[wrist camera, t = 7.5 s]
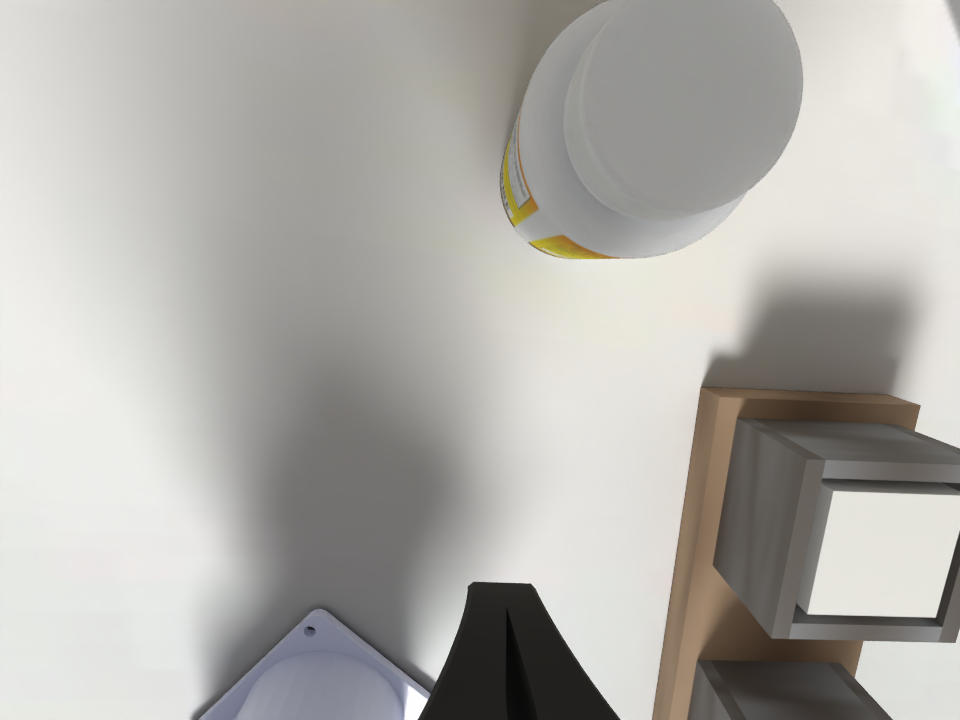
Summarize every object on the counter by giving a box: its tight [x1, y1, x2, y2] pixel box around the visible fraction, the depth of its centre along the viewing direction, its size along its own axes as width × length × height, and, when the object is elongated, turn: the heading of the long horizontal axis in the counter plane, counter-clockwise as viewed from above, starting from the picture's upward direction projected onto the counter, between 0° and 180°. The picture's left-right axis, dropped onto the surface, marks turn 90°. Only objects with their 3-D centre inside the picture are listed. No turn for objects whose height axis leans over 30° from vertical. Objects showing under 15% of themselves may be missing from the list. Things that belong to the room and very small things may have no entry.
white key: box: [796, 478, 960, 618], centre depth 17 cm, size 4×4×2 cm
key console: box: [652, 387, 960, 720], centre depth 20 cm, size 8×19×6 cm, turn 177°
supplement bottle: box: [500, 0, 803, 259], centre depth 14 cm, size 6×6×10 cm
